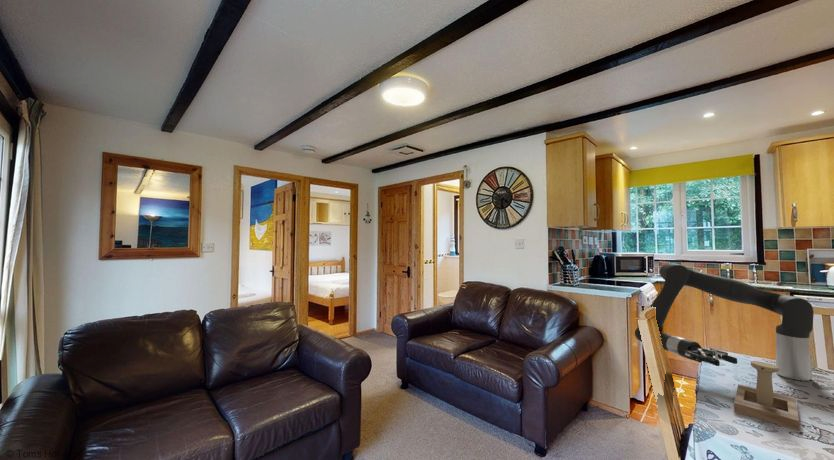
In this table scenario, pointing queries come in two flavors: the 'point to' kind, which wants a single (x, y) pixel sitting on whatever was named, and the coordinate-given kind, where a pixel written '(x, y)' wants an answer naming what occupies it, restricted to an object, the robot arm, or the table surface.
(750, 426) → the table surface
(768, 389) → the handle
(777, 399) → the wooden rectangular frame
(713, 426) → the table surface
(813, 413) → the table surface
